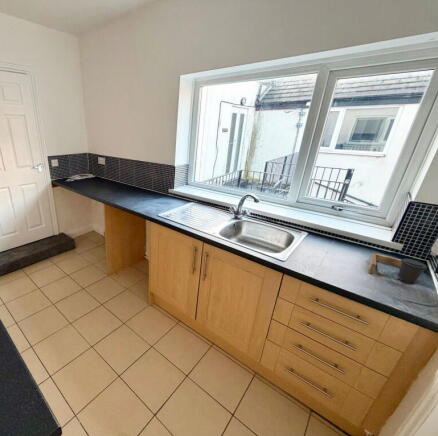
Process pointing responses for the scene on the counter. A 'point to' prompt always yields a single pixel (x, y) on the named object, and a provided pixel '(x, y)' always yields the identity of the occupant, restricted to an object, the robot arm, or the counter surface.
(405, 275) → the coffee cup
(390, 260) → the corner guard
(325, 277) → the counter surface
